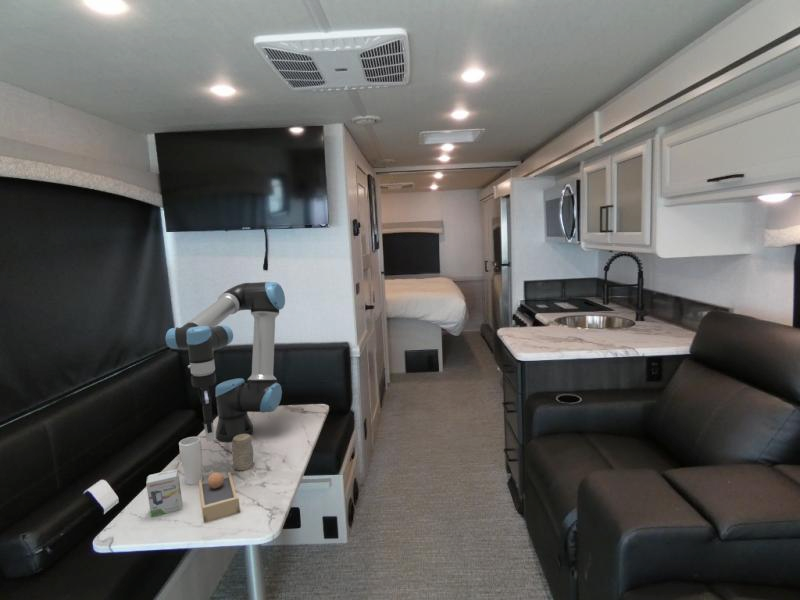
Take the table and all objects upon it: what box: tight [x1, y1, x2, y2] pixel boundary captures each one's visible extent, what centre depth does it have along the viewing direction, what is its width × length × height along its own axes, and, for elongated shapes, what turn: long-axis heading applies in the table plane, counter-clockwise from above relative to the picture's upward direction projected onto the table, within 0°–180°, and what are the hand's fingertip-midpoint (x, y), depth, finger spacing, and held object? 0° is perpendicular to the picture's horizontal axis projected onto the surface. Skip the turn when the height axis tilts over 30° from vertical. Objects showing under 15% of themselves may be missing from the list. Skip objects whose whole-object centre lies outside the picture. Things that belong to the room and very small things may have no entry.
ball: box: [207, 471, 225, 489], centre depth 154 cm, size 5×5×5 cm
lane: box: [198, 471, 241, 523], centre depth 148 cm, size 24×10×5 cm, turn 26°
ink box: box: [145, 469, 183, 518], centre depth 142 cm, size 9×5×12 cm, turn 114°
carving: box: [231, 434, 255, 471], centre depth 167 cm, size 6×8×12 cm
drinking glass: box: [178, 436, 204, 486], centre depth 159 cm, size 7×7×15 cm
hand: (210, 440), depth 159 cm, fingers closed
